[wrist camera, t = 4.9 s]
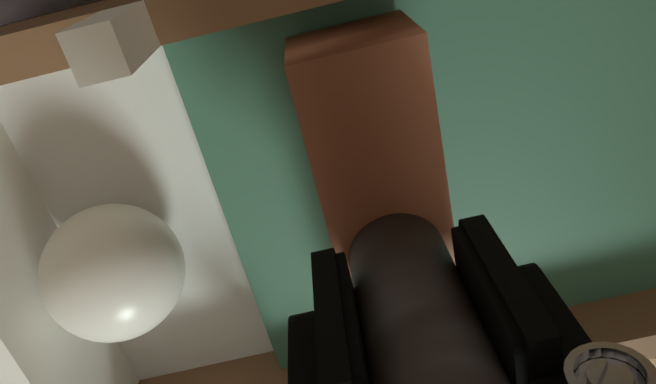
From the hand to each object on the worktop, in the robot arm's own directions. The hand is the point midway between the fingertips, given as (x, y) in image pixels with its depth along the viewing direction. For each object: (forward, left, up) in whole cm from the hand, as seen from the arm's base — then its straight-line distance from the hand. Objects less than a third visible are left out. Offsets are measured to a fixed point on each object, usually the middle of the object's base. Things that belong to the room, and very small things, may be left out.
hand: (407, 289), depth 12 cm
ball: (+8, 0, -4) cm, 9 cm away
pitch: (0, 0, -6) cm, 6 cm away
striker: (0, 0, -4) cm, 4 cm away
